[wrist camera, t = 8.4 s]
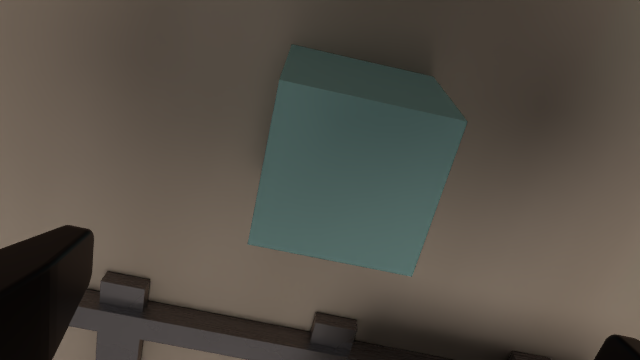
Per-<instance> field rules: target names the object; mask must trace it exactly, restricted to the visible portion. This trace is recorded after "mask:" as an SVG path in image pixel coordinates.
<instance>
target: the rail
mask: <svg viewBox="0 0 640 360" xmlns="http://www.w3.org/2000/svg"><path fill="white" fill-rule="evenodd" d="M149 285H150V280H148V279H143V278H138V277H133V276H128V275H122V274H117V273H112V272H107V273H106V274H105V276H104V277H103V278H102V280H101V285H100V292H99V291H94V290H89V289H86V292H85V294H84V296H83V298H82V300H81V302H80V304H79V306H78V308H77V310H76V312H75V314H74V316H73V318H72V320H71V322H70V324H69V326H71V327H77V328H82V329H87V330H93V331H98V332H97V348H96V360H141V356H142V347H143V340H146V341H152V342H157V343H162V344H168V345H173V346H178V347H184V348H189V349H194V350H200V351H205V352H210V353H216V354H221V355H227V356H232V357H237V358H243V359H248V360H452V359H446V358H441V357H436V356H431V355H426V354H421V353H415V352H410V351H405V350H400V349H395V348H389V347H384V346H379V345H374V344H369V343H364V342H358V341H354V338H355V335H356V332H357V325H356V320H352V319H347V318H342V317H337V316H332V315H326V314H321V313H316V314H315V318H314V321H313V325H312V328H311V332H306V331H301V330H296V329H291V328H286V327H281V326H275V325H270V324H265V323H260V322H255V321H249V320H244V319H239V318H234V317H229V316H223V315H218V314H213V313H208V312H203V311H198V310H192V309H187V308H182V307H177V306H172V305H166V304H161V303H156V302H151V301H148V293H149ZM508 360H551V359H550V358H546V357H541V356H536V355H531V354H525V353H520V352H515V351H512V352H511V354H510V356H509V358H508Z"/></svg>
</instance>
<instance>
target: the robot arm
mask: <svg viewBox="0 0 640 360" xmlns="http://www.w3.org/2000/svg"><path fill="white" fill-rule="evenodd" d="M93 247H94V235H93V232H92V231H91V230H90V229H86V228H81V227H76V226H71V225H65V226H62V227H59V228H56V229H54V230H51V231H48V232H46V233H43V234H40V235H37V236H35V237H32V238H29V239H26V240H24V241H21V242H18V243H16V244H13V245H10V246H7V247H5V248H2V249H0V360H52V359H53V357H54V355H55V353H56V351H57V349H58V347H59V345H60V343H61V341H62V339H63V336H64V334H65V332H66V330H67V328H68V326H69V324H70V322H71V320H72V318H73V316H74V314H75V312H76V310H77V308H78V306H79V304H80V302H81V300H82V298H83V296H84V294H85V292H86V289H87V287H88V285H89V282H90V279H91V275H92V265H93ZM594 360H640V341H639V340H637V339H635V338H631V337H626V336H621V335H611V336H609V337H608V338H607V339H606V340H605V342H604V343H603V345H602V347H601V348H600V350H599V352H598V353H597V355H596V357H595V359H594Z"/></svg>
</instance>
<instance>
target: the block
mask: <svg viewBox="0 0 640 360" xmlns="http://www.w3.org/2000/svg"><path fill="white" fill-rule="evenodd" d="M466 125H467V120H466V119H465V118H464V116H463V115H462V114H461V112H460V111H459V110H458V108H457V107H456V106H455V104H454V103H453V102H452V101H451V99H450V98H449V97H448V95H447V94H446V93H445V91H444V90H443V89H442V87H441V86H440V85H439V83H438V82H437V81H436V80H435V78H434V77H433V76H428V75H424V74H420V73H415V72H411V71H406V70H402V69H398V68H393V67H389V66H385V65H380V64H376V63H372V62H367V61H363V60H358V59H354V58H350V57H345V56H341V55H337V54H332V53H328V52H324V51H319V50H315V49H310V48H306V47H302V46H297V45H293V44H292V45H291V48H290V51H289V54H288V57H287V59H286V62H285V65H284V68H283V71H282V74H281V76H280V79H279V84H278V89H277V94H276V99H275V105H274V110H273V115H272V120H271V125H270V131H269V136H268V141H267V146H266V152H265V157H264V162H263V167H262V172H261V178H260V183H259V188H258V193H257V198H256V204H255V209H254V214H253V219H252V224H251V230H250V235H249V240H248V244H249V245H254V246H259V247H264V248H269V249H274V250H279V251H284V252H289V253H295V254H300V255H305V256H310V257H315V258H320V259H325V260H330V261H335V262H340V263H345V264H350V265H355V266H361V267H366V268H371V269H376V270H381V271H386V272H391V273H396V274H401V275H406V276H411V277H412V275H413V272H414V269H415V267H416V264H417V261H418V258H419V256H420V253H421V250H422V247H423V244H424V242H425V239H426V236H427V233H428V230H429V228H430V225H431V222H432V219H433V217H434V214H435V211H436V208H437V205H438V203H439V200H440V197H441V194H442V192H443V189H444V186H445V183H446V180H447V178H448V175H449V172H450V169H451V166H452V164H453V161H454V158H455V155H456V153H457V150H458V147H459V144H460V141H461V139H462V136H463V133H464V130H465V127H466Z"/></svg>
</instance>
